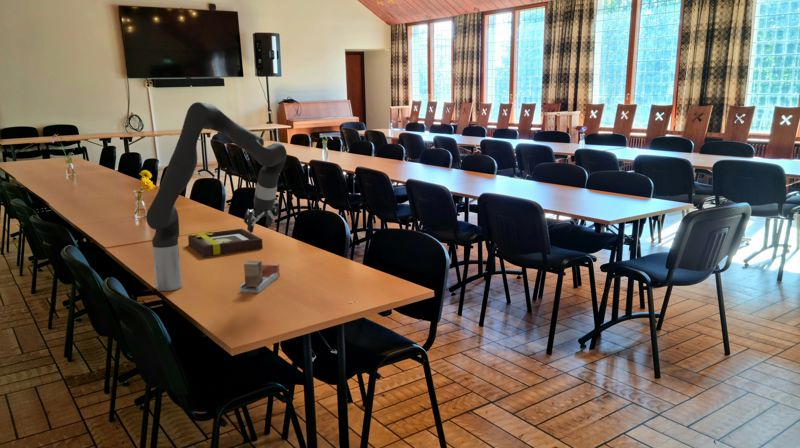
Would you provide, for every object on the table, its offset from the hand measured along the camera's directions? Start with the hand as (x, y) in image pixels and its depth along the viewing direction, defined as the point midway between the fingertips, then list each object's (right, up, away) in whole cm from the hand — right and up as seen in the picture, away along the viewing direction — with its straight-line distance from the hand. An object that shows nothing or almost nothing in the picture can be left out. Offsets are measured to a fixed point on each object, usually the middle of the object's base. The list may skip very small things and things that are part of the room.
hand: (259, 228), depth 230 cm
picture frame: (-33, -10, +69) cm, 77 cm away
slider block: (-3, -22, +3) cm, 22 cm away
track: (-2, -22, +9) cm, 24 cm away
